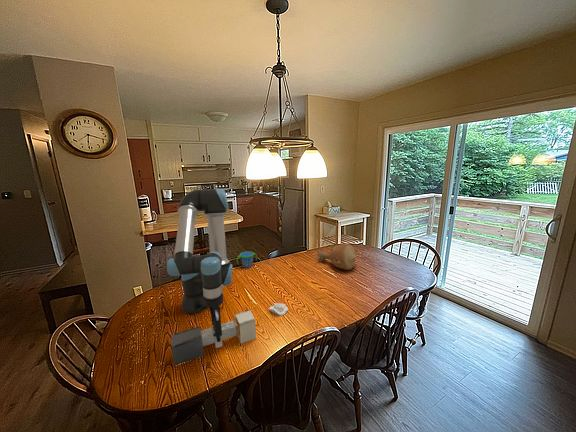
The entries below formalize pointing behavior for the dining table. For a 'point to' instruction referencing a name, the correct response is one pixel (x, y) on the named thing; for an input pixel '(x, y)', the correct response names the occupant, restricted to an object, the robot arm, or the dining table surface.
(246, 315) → the socket
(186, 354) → the dark grey rectangular box
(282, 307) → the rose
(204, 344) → the pale grey rectangular box
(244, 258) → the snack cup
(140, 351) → the dining table surface
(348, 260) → the jug
